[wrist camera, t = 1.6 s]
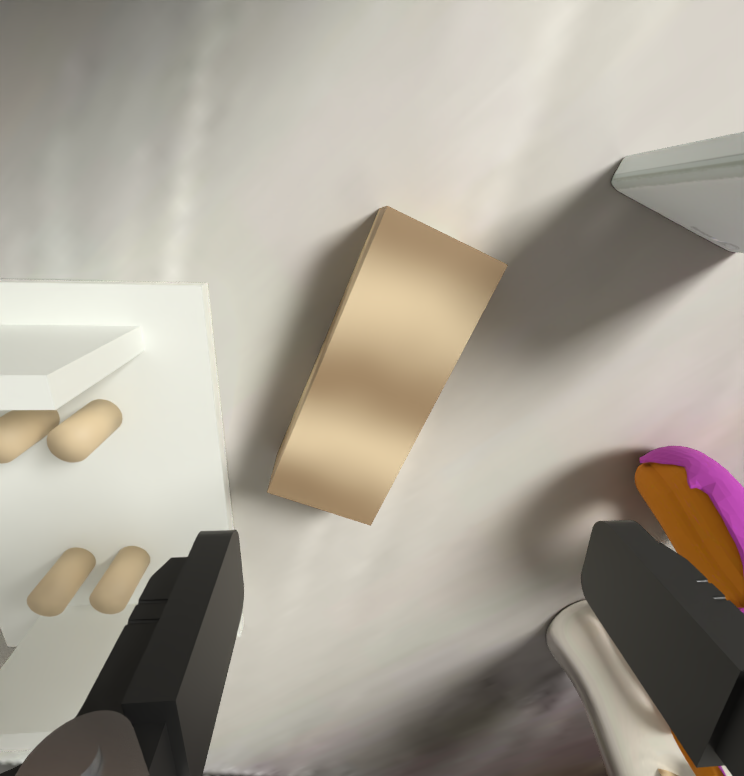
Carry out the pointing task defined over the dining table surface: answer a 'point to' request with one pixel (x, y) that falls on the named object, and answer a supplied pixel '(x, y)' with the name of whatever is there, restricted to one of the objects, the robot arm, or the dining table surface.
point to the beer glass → (617, 701)
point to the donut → (698, 513)
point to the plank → (382, 365)
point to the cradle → (96, 474)
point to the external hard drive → (692, 186)
